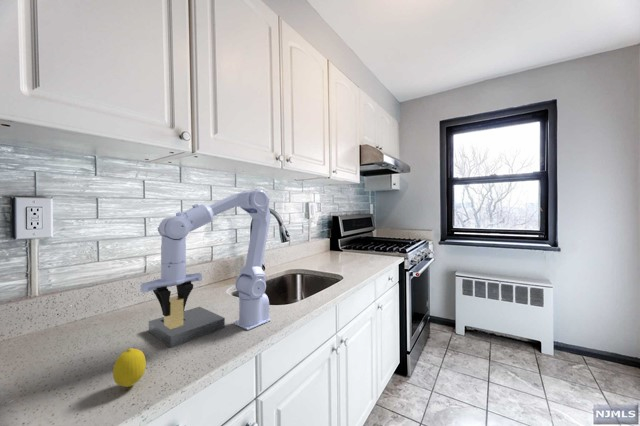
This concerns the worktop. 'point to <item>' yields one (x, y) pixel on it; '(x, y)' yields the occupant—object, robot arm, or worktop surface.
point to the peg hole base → (187, 326)
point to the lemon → (129, 367)
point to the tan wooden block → (174, 313)
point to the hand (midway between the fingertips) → (173, 313)
